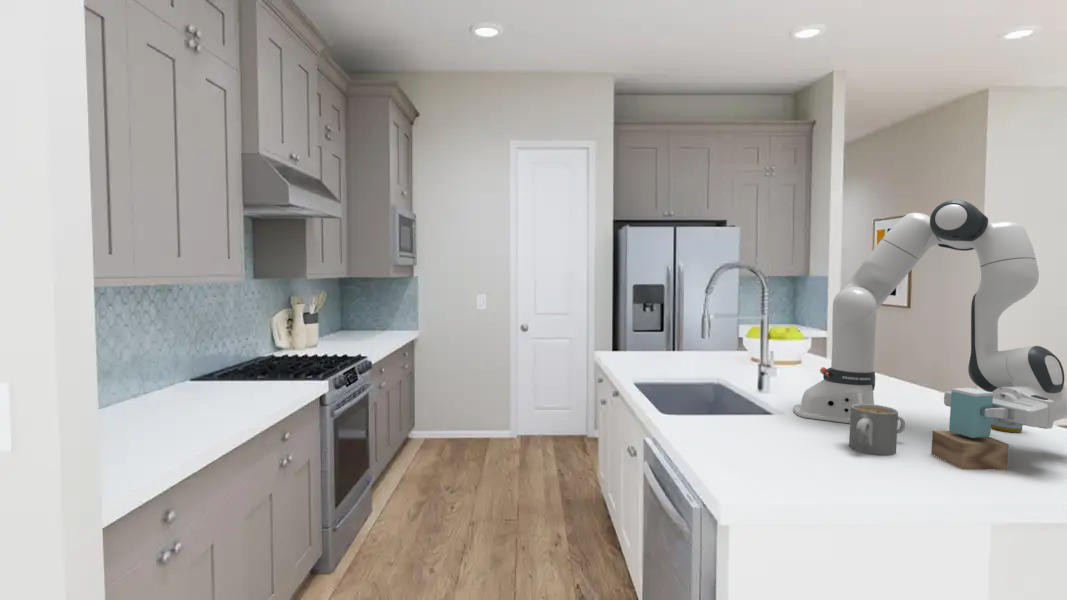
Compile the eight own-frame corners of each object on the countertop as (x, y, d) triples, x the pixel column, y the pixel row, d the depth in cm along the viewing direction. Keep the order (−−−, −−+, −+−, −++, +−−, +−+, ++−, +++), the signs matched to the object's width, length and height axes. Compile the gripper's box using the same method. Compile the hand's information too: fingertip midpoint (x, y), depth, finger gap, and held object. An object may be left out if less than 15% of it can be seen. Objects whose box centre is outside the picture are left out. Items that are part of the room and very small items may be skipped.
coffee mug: (864, 440, 148) (866, 402, 148) (904, 451, 140) (906, 411, 139) (831, 447, 142) (833, 407, 141) (871, 459, 133) (873, 417, 133)
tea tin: (972, 437, 129) (975, 393, 129) (948, 431, 134) (951, 388, 134) (990, 436, 131) (993, 392, 130) (966, 429, 136) (969, 387, 135)
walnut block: (961, 469, 128) (962, 443, 128) (931, 455, 138) (932, 430, 138) (1007, 470, 128) (1008, 444, 127) (973, 456, 138) (975, 431, 137)
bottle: (1010, 426, 164) (1013, 374, 163) (1028, 433, 157) (1032, 379, 156) (983, 425, 165) (987, 373, 164) (1000, 432, 158) (1004, 378, 157)
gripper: (969, 383, 146) (926, 385, 142) (1062, 402, 126) (1016, 405, 122) (967, 408, 146) (925, 411, 142) (1060, 430, 126) (1014, 434, 122)
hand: (968, 408), depth 132 cm, fingers open, 5 cm apart
